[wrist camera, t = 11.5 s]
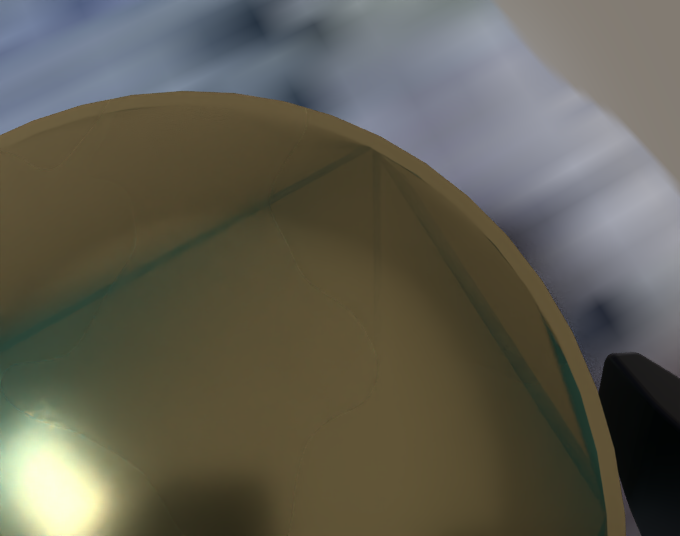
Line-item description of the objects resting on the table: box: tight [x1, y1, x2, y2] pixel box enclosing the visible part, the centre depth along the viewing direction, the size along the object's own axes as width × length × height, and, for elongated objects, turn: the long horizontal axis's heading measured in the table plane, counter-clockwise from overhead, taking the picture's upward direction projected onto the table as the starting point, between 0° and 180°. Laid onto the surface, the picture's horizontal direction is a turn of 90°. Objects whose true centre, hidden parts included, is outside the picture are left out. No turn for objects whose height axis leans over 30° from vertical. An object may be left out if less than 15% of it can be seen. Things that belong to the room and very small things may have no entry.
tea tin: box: [0, 91, 626, 536], centre depth 10 cm, size 5×5×13 cm
